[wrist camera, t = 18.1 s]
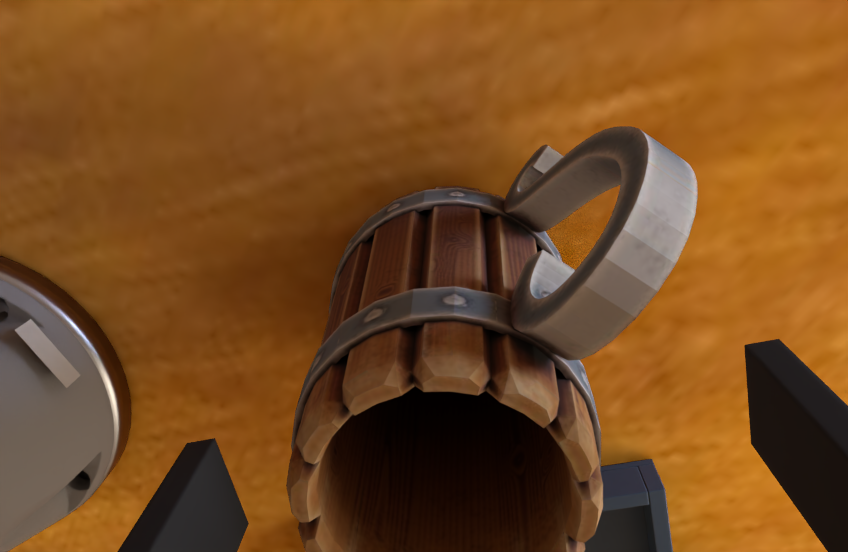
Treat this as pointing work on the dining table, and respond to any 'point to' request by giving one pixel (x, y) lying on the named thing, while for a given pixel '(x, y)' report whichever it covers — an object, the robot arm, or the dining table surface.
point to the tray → (632, 511)
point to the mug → (480, 357)
